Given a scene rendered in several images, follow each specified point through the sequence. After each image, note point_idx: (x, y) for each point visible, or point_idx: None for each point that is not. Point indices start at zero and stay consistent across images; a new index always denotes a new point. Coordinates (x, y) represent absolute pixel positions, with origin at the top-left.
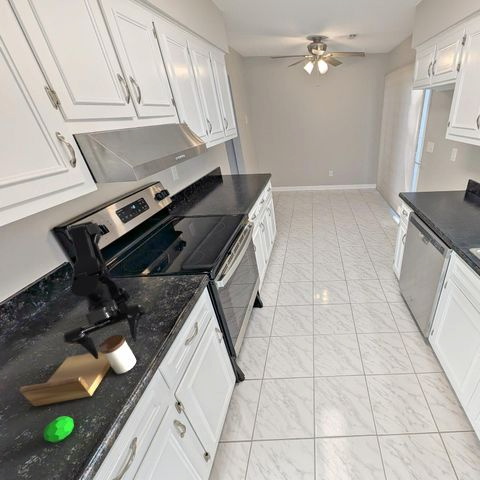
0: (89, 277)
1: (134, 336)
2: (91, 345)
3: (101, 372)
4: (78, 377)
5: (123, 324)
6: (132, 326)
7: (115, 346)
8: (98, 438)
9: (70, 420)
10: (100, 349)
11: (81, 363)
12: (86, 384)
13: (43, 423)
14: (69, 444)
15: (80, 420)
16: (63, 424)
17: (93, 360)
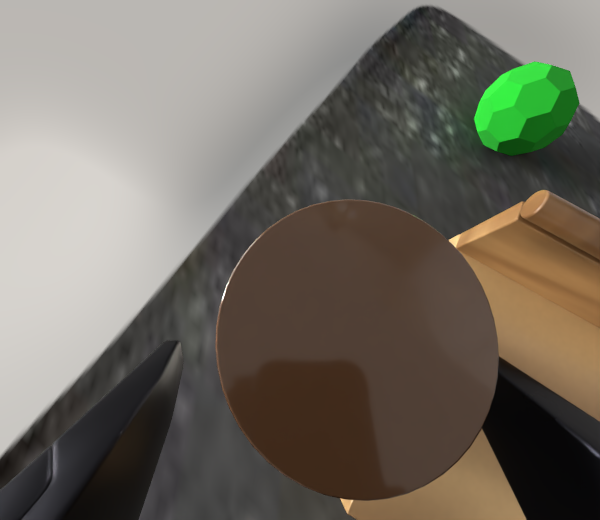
0: None
1: (135, 371)
2: (596, 489)
3: None
4: (554, 201)
5: None
6: (10, 517)
7: (317, 206)
8: (392, 51)
9: (496, 99)
10: (474, 285)
11: None
12: (479, 234)
13: None
14: (469, 92)
15: (456, 155)
16: (519, 72)
17: (476, 488)
